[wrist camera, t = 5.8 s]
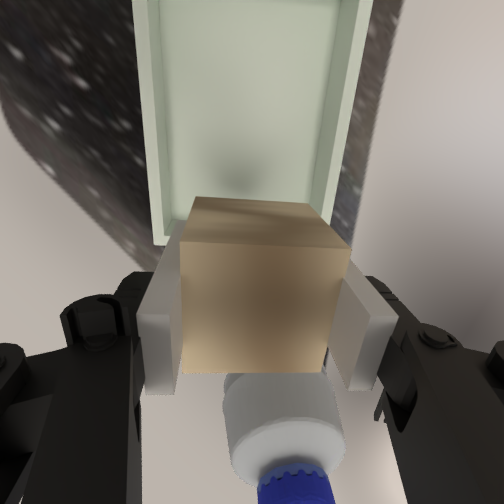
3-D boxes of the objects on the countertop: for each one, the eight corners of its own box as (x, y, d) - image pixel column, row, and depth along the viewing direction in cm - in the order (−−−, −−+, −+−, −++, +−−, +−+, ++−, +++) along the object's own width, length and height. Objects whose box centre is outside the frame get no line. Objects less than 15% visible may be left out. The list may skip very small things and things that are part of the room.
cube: (194, 293, 15) (181, 373, 10) (195, 196, 13) (179, 241, 8) (291, 296, 15) (320, 372, 11) (307, 203, 13) (352, 249, 9)
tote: (145, -36, 18) (125, -71, 15) (351, -10, 20) (380, -38, 16) (164, 226, 26) (154, 245, 22) (311, 230, 27) (324, 249, 24)
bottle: (213, 297, 30) (197, 579, 12) (239, 242, 27) (266, 494, 9) (271, 315, 32) (333, 586, 14) (301, 265, 29) (423, 516, 11)
